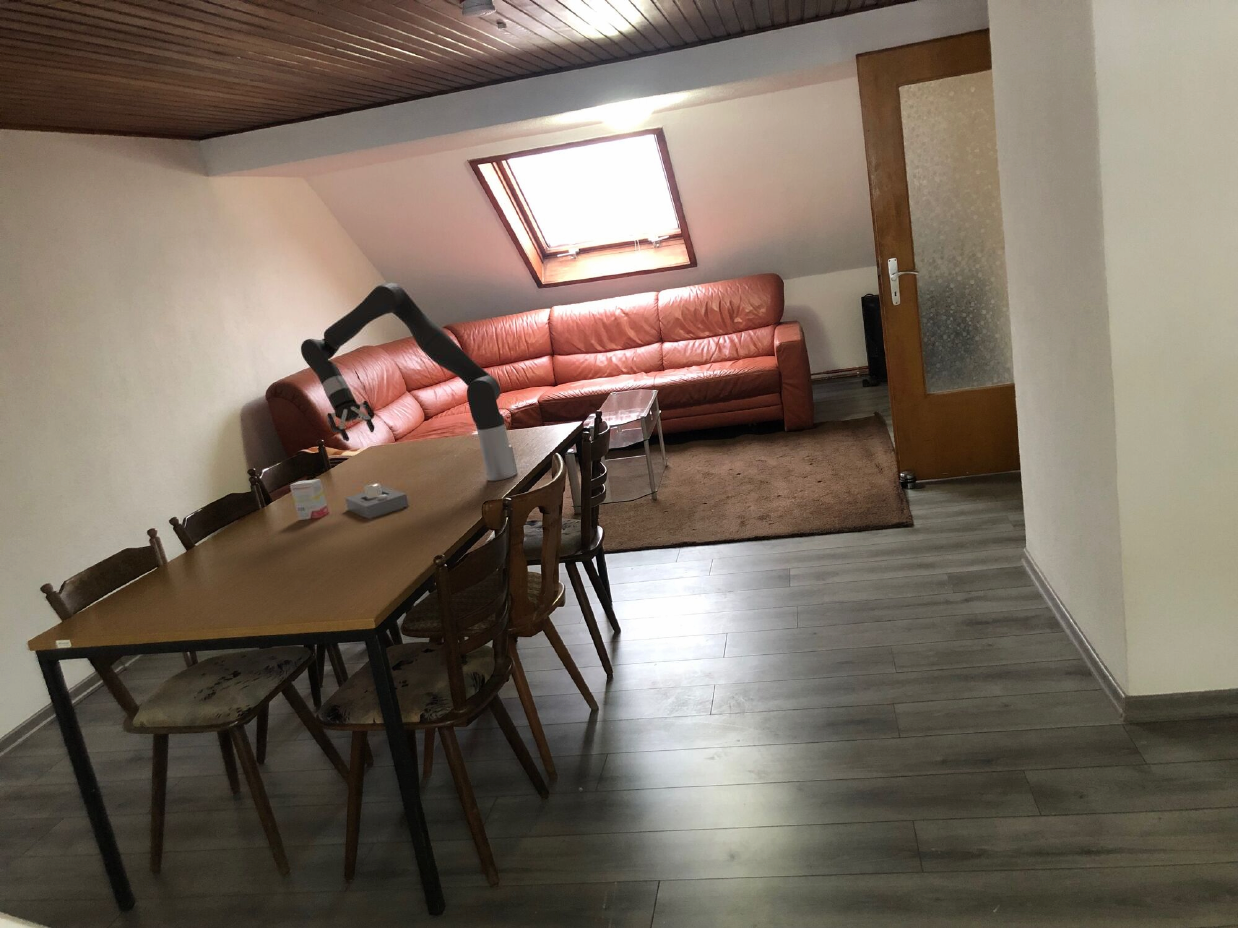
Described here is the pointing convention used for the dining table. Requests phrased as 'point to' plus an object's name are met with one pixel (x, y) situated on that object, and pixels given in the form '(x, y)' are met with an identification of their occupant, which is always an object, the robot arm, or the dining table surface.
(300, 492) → the ink box
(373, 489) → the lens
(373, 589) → the dining table surface
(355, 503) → the grey slotted tray
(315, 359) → the robot arm
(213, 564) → the dining table surface
